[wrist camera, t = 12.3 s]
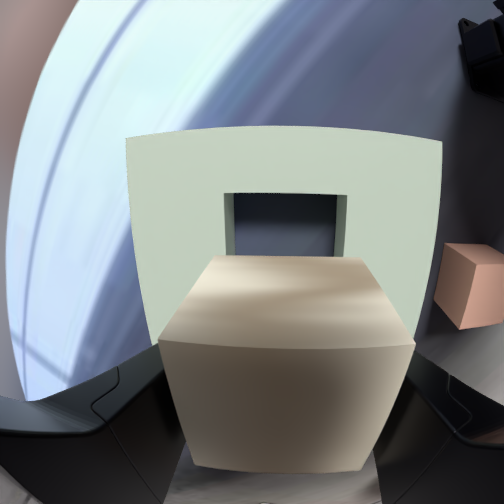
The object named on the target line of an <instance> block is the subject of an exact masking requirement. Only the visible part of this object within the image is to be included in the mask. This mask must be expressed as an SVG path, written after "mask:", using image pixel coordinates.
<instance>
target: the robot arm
mask: <svg viewBox="0 0 504 504" xmlns="http://www.w3.org/2000/svg"><path fill="white" fill-rule="evenodd" d="M493 4H494V5H495V6H496V7H497V9H499V10H500V11H501V12H502V13H503V14H502V15H501V16H499V17H497V18H495V19H493V20H492V19H488V20H486V21H485V22H483V23H481V24H479V25H478V24H476V23H474V22H472V21H469V20H467V19H465V18H462V19H461V20H459V25H460V29H461V33H462V37H463V42H464V47H465V52H466V57H467V62H468V68H469V75H470V83H471V87H472V89H473V90H474V91H475V92H476V93H479V94H482V95H484V96H487V97H490V98H492V99H495V100H497V101H500V102H502V103H504V0H496V1H494V2H493ZM464 23H465V24H466V25H465V24H464ZM476 84H477V86H478V88H477V86H476ZM185 442H186V439H185V436H184V433H183V430H182V427H181V424H180V421H179V418H178V415H177V411H176V408H175V405H174V401H173V398H172V394H171V391H170V387H169V384H168V380H167V376H166V373H165V369H164V365H163V361H162V357H161V353H160V349H159V344H158V343H156V344H155V345H153V346H151V347H149V348H148V349H146V350H144V351H142V352H140V353H139V354H137V355H135V356H133V357H131V358H130V359H128V360H126V361H124V362H122V363H120V364H119V365H118V367H117V366H115V367H113V368H111V369H109V370H108V371H106V372H104V373H102V374H100V375H98V376H96V377H94V378H92V379H90V380H87V381H85V382H83V383H81V384H78V385H76V386H73V387H71V388H69V389H66V390H64V391H61V392H59V393H56V394H54V395H51V396H49V397H46V398H43V399H40V400H36V401H20V400H15V399H11V398H7V397H3V396H0V504H163V503H164V500H165V497H166V494H167V492H168V489H169V486H170V483H171V481H172V478H173V475H174V472H175V470H176V467H177V464H178V461H179V459H180V456H181V453H182V450H183V448H184V445H185ZM373 451H374V457H375V462H376V468H377V473H378V479H379V485H380V492H381V498H382V504H504V406H503V405H501V404H499V403H498V402H496V401H494V400H492V399H490V398H488V397H486V396H485V395H483V394H481V393H479V392H478V391H476V390H474V389H472V388H471V387H469V386H467V385H466V384H464V383H463V382H461V381H460V380H458V379H457V378H455V377H454V376H452V375H449V373H448V372H446V371H445V370H443V369H442V368H440V367H439V366H437V365H436V364H434V363H433V362H431V361H430V360H428V359H427V358H425V357H424V356H422V355H421V354H419V353H418V352H416V351H415V350H414V351H413V354H412V357H411V360H410V363H409V366H408V369H407V372H406V374H405V377H404V380H403V382H402V385H401V388H400V390H399V393H398V395H397V397H396V400H395V402H394V405H393V407H392V409H391V412H390V414H389V416H388V418H387V420H386V423H385V425H384V427H383V429H382V431H381V433H380V435H379V437H378V439H377V441H376V443H375V445H374V447H373Z"/></svg>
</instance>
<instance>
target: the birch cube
mask: <svg viewBox="0 0 504 504" xmlns="http://www.w3.org/2000/svg"><path fill="white" fill-rule="evenodd" d="M157 340H158V344H159V349H160V353H161V357H162V361H163V365H164V369H165V373H166V376H167V380H168V384H169V387H170V391H171V394H172V398H173V401H174V405H175V408H176V411H177V415H178V418H179V421H180V424H181V427H182V430H183V433H184V436H185V439H186V442H187V445H188V447H189V450H190V453H191V456H192V459H193V461H194V464H195V465H198V466H204V467H210V468H217V469H225V470H234V471H243V472H256V473H275V474H316V473H334V472H347V471H356V470H361V469H362V467H363V465H364V463H365V462H366V460H367V458H368V456H369V454H370V453H371V451H372V449H373V447H374V445H375V443H376V441H377V439H378V437H379V435H380V433H381V431H382V429H383V427H384V425H385V423H386V420H387V418H388V416H389V414H390V412H391V409H392V407H393V405H394V402H395V400H396V397H397V395H398V393H399V390H400V388H401V385H402V382H403V380H404V377H405V374H406V372H407V369H408V366H409V363H410V360H411V357H412V354H413V351H414V348H415V345H416V343H415V342H414V340H413V338H412V336H411V335H410V333H409V331H408V330H407V328H406V326H405V325H404V323H403V321H402V320H401V318H400V317H399V315H398V313H397V312H396V310H395V308H394V307H393V305H392V304H391V302H390V301H389V299H388V297H387V296H386V294H385V293H384V291H383V290H382V288H381V287H380V285H379V284H378V282H377V281H376V279H375V278H374V276H373V275H372V273H371V272H370V270H369V269H368V267H367V266H366V264H365V263H364V261H363V260H362V259H361V257H295V256H230V255H214V257H213V258H212V260H211V261H210V263H209V264H208V265H207V267H206V268H205V270H204V271H203V273H202V274H201V276H200V277H199V278H198V280H197V281H196V283H195V284H194V286H193V287H192V289H191V290H190V291H189V293H188V294H187V296H186V297H185V299H184V300H183V302H182V303H181V305H180V306H179V308H178V309H177V310H176V312H175V313H174V315H173V316H172V318H171V319H170V321H169V322H168V324H167V325H166V327H165V328H164V330H163V331H162V333H161V334H160V336H159V337H158V339H157Z"/></svg>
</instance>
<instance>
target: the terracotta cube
mask: <svg viewBox="0 0 504 504" xmlns="http://www.w3.org/2000/svg"><path fill="white" fill-rule="evenodd" d="M433 300H434V301H435V302H436V303H437V304H438V305H439V307H440V308H441V309H442V310H443V311H444V312H445V313H446V315H447V316H448V317H449V318H450V319H451V321H452V322H453V323H454V324H455V325H456V326H457V328H458V329H459V330H460V329H467V328H474V327H481V326H487V325H493V324H499V323H502V322H503V319H504V254H502V253H500V252H499V251H497V250H495V249H493V248H492V247H490V246H488V245H486V244H456V243H444V248H443V255H442V260H441V266H440V271H439V276H438V281H437V286H436V290H435V294H434V299H433Z"/></svg>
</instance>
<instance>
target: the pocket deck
mask: <svg viewBox="0 0 504 504" xmlns="http://www.w3.org/2000/svg"><path fill="white" fill-rule="evenodd" d="M126 160H127V179H128V193H129V205H130V215H131V225H132V234H133V242H134V249H135V257H136V263H137V270H138V276H139V282H140V288H141V294H142V299H143V304H144V309H145V314H146V319H147V324H148V329H149V333H150V338H151V342H152V346H153V345H155V344H156V343H158V340H157V339H158V337H159V336H160V334H161V333H162V331H163V330H164V328H165V327H166V325H167V324H168V322H169V321H170V319H171V318H172V316H173V315H174V313H175V312H176V310H177V309H178V308H179V306H180V305H181V303H182V302H183V300H184V299H185V297H186V296H187V294H188V293H189V291H190V290H191V289H192V287H193V286H194V284H195V283H196V281H197V280H198V278H199V277H200V276H201V274H202V273H203V271H204V270H205V268H206V267H207V265H208V264H209V263H210V261H211V260H212V258H213V257H214V255H230V256H235V228H234V193H308V194H336V195H337V213H336V231H335V246H334V257H361V259H362V260H363V261H364V263H365V264H366V266H367V267H368V269H369V270H370V272H371V273H372V275H373V276H374V278H375V279H376V281H377V282H378V284H379V285H380V287H381V288H382V290H383V291H384V293H385V294H386V296H387V297H388V299H389V301H390V302H391V304H392V305H393V307H394V308H395V310H396V312H397V313H398V315H399V317H400V318H401V320H402V321H403V323H404V325H405V326H406V328H407V330H408V331H409V333H410V335H411V336H412V338H413V337H414V334H415V330H416V327H417V323H418V320H419V316H420V312H421V308H422V304H423V300H424V296H425V292H426V287H427V282H428V278H429V273H430V268H431V262H432V257H433V251H434V244H435V238H436V230H437V223H438V214H439V204H440V191H441V175H442V142H441V141H436V140H430V139H425V138H419V137H413V136H406V135H400V134H392V133H384V132H376V131H367V130H356V129H344V128H329V127H307V126H244V127H222V128H207V129H195V130H184V131H174V132H166V133H158V134H150V135H143V136H136V137H130V138H126Z"/></svg>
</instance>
